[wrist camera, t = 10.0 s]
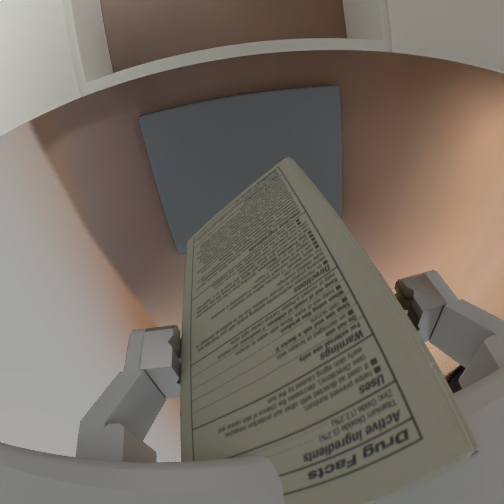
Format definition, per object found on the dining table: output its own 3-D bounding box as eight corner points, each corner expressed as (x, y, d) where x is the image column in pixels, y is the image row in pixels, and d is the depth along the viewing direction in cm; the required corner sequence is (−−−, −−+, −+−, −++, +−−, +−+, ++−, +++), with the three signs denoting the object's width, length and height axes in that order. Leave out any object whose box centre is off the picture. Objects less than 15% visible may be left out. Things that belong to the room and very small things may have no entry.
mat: (336, 85, 17) (339, 86, 16) (338, 220, 23) (341, 224, 22) (140, 115, 16) (137, 117, 16) (178, 249, 22) (178, 254, 22)
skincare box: (245, 287, 16) (288, 532, 7) (182, 237, 14) (174, 539, 4) (343, 214, 14) (483, 457, 5) (289, 146, 12) (482, 458, 2)
